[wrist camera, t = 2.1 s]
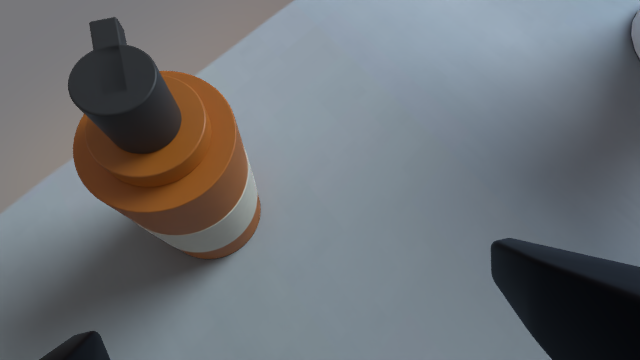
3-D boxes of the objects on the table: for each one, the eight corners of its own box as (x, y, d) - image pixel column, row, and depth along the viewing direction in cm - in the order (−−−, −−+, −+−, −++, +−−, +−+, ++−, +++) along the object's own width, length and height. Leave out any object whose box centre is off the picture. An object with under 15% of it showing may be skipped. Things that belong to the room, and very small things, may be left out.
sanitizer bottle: (272, 242, 23) (242, 141, 10) (173, 273, 22) (2, 205, 9) (247, 156, 24) (195, -19, 12) (155, 182, 23) (-7, 20, 11)
